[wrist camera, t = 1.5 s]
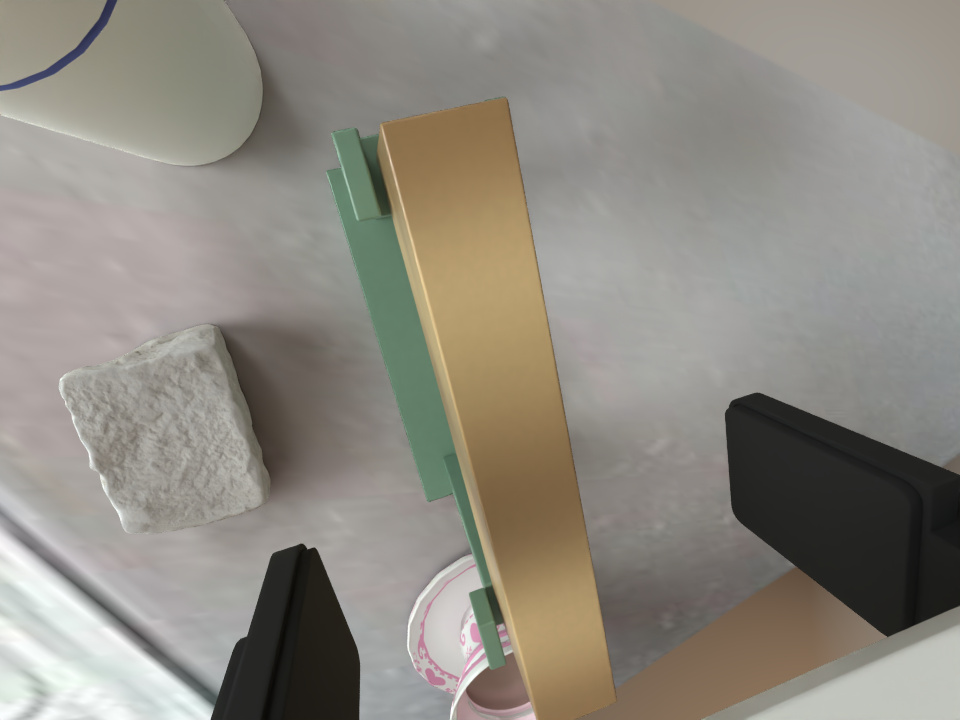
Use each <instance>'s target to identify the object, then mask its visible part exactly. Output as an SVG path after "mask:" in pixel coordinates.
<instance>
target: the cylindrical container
mask: <svg viewBox="0 0 960 720" xmlns="http://www.w3.org/2000/svg"><path fill="white" fill-rule="evenodd" d="M262 96H263V84H262V77H261V70H260V67H259V63H258V60H257V57H256V54H255V51H254V49H253V47H252V45H251V43H250V41H249V39H248V37H247V35H246V34H245V32H244V31H243V29H242V27H241V26H240V24H239V23H238V21H237V20H236V18H235V17H234V15H233V14H232V12H231V10H230V9H229V7H228V6H227V4H226V3H225V1H224V0H0V115H2V116H6V117H9V118H12V119H16V120H19V121H23V122H26V123H29V124H33V125H36V126H40V127H43V128H46V129H50V130H53V131H57V132H60V133H63V134H67V135H70V136H74V137H77V138H80V139H84V140H87V141H91V142H94V143H97V144H101V145H104V146H108V147H111V148H114V149H118V150H121V151H125V152H128V153H131V154H135V155H138V156H142V157H145V158H149V159H152V160H155V161H159V162H162V163H167V164H173V165H178V166H198V165H203V164H208V163H213V162H215V161H217V160H220V159H222V158H225V157H227V156H228V155H230V154H231V153H233V152H234V151H235V150H237V149H238V148H239V147H241V145H242V144H243V143H244V142H245V141H246V139H247V138H248V137H249V136H250V135H251V133H252V131H253V129H254V127H255V125H256V123H257V121H258V118H259V114H260V110H261V106H262Z"/></svg>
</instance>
